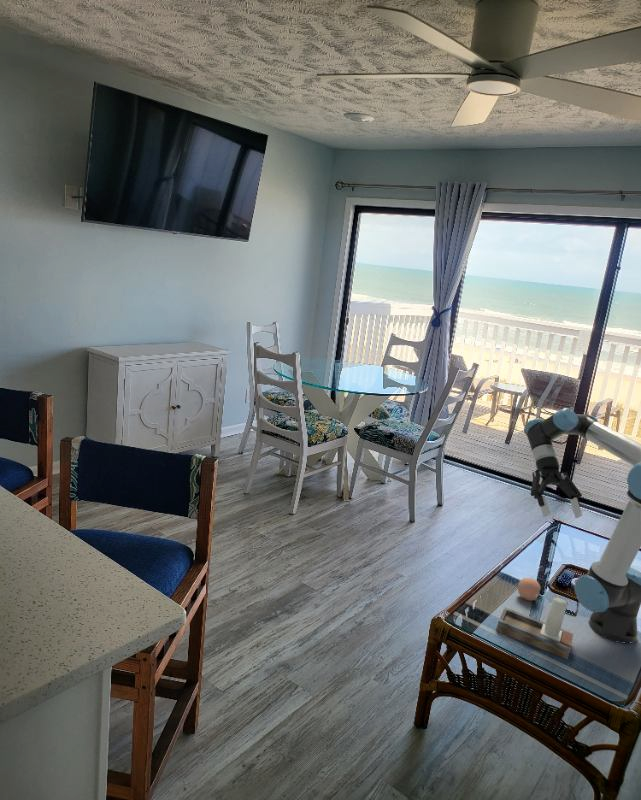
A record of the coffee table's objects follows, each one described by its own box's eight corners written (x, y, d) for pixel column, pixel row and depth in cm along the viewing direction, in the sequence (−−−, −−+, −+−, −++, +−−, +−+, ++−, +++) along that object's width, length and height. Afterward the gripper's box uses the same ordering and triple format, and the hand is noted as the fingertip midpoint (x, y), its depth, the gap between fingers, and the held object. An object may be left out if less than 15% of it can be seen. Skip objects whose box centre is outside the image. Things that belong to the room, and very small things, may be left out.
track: (570, 643, 197) (573, 632, 197) (567, 659, 188) (570, 647, 187) (502, 616, 207) (505, 605, 206) (496, 630, 197) (499, 619, 196)
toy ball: (542, 604, 220) (547, 584, 219) (524, 605, 218) (529, 584, 216) (528, 593, 228) (533, 573, 226) (511, 593, 225) (516, 573, 224)
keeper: (561, 635, 197) (571, 600, 194) (558, 645, 190) (569, 609, 188) (542, 627, 199) (551, 593, 197) (539, 637, 193) (549, 601, 190)
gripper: (566, 466, 227) (584, 521, 216) (510, 461, 219) (526, 518, 208) (580, 457, 221) (599, 513, 210) (523, 452, 213) (540, 510, 202)
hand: (563, 516), depth 209 cm, fingers open, 13 cm apart
